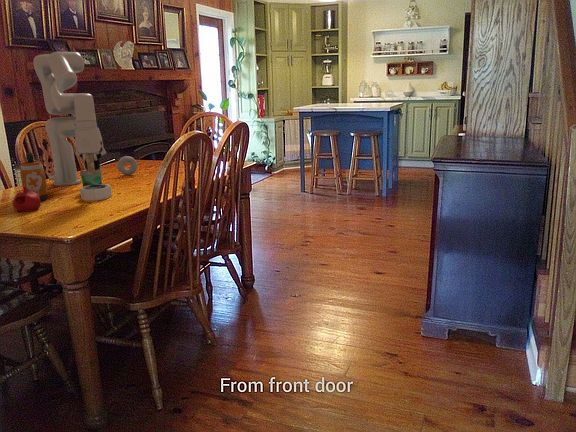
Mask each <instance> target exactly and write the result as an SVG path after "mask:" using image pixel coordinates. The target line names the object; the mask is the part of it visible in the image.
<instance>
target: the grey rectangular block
mask: <svg viewBox="0 0 576 432" xmlns="http://www.w3.org/2000/svg"><path fill="white" fill-rule="evenodd" d="M85 154H86V161H87V168H88V174H97V173H99V171H98V170H95V167H94V161H95V160H94V155H93V153H85Z"/></svg>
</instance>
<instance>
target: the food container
mask: <svg viewBox="0 0 576 432" xmlns="http://www.w3.org/2000/svg"><path fill="white" fill-rule="evenodd" d="M98 171H99V173H97V174H88V170H80V172H79V176H80V178H81V183H82V187H84V186H89V185H95V184H103V182H102V174H103V171H104V170H103V169H102V168H101V166H100V169H99V170H98Z"/></svg>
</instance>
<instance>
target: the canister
mask: <svg viewBox="0 0 576 432" xmlns="http://www.w3.org/2000/svg"><path fill="white" fill-rule="evenodd" d="M25 154H26V157H25V158H23V159H22V160H20V171H19V173H20V180H21V184H22V190H24V189H23V187H24V186H26V189H28V191H31V190H32V191H31V192H35V193H37V194H38V195H39V197H40V202H41V201H45V200H47V199H48V198H49V194H48V193H49V192H48V191H49V190H48V186H47V185H48V184H47V180H46V178H47V177H46V172H45V169H44V168H43V164H42V161H40V160H39V161H38V160H35V161H34V159H35V158H34V155H33V152H30V153H28V152H26V153H25Z"/></svg>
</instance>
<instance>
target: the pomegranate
mask: <svg viewBox="0 0 576 432" xmlns="http://www.w3.org/2000/svg"><path fill="white" fill-rule="evenodd" d="M23 189H24V190H23ZM31 191H32V190H31ZM31 191H28V189H26V186H24V187H23V186H22V189H21V190H17V191H15V196H14V198H13V199H12V203H11V204H12V207H13V208H14V209H15V210H16V211H18V212H20V213H21V212H32V211H33V212H34V211H36V210H38V209H39V208H41V203H42V202H41V201H40V197H39V195H38V194H37V193H35V192H31Z"/></svg>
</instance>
